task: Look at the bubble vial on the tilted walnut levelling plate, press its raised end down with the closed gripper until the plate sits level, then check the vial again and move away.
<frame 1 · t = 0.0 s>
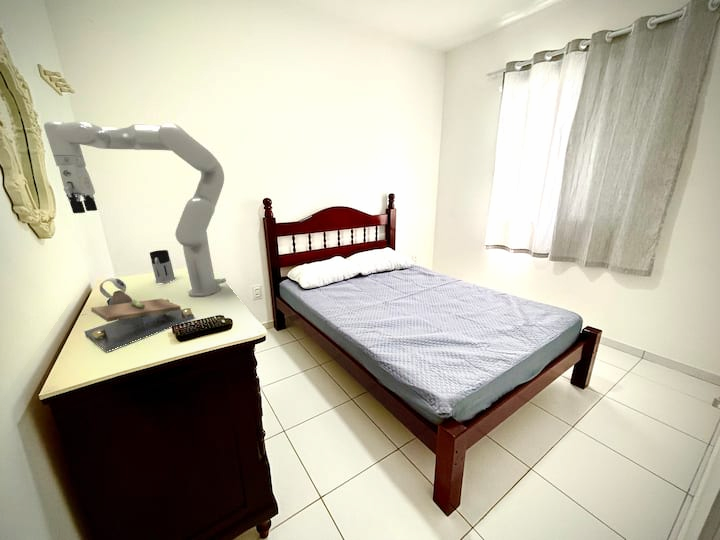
hand: (86, 211, 105), 37 cm above the table, tool pointing down, fingers open, 9 cm apart
vase: (124, 313, 109), on the table
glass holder: (165, 282, 142), on the table
levelling plate: (138, 306, 96), point 7 cm above the table, hinge at -12.0°
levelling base: (142, 326, 98), on the table
watch: (118, 305, 117), on the table
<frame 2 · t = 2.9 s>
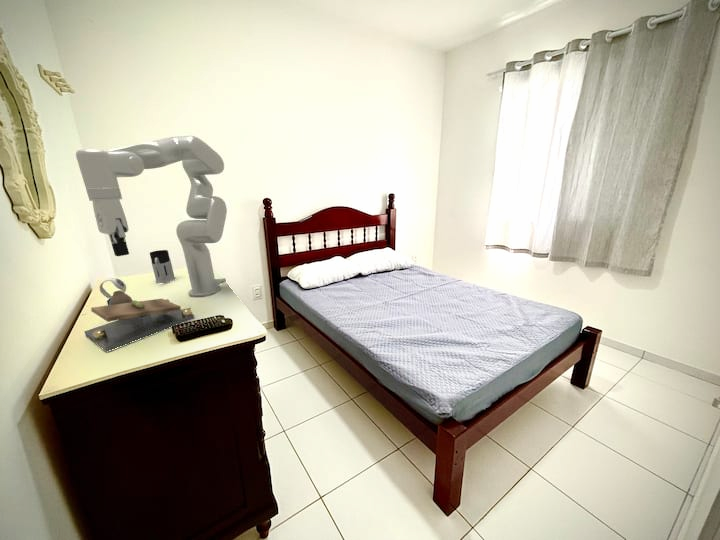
hand: (122, 255, 90), 25 cm above the table, tool pointing down, fingers closed
nothing on the table moved.
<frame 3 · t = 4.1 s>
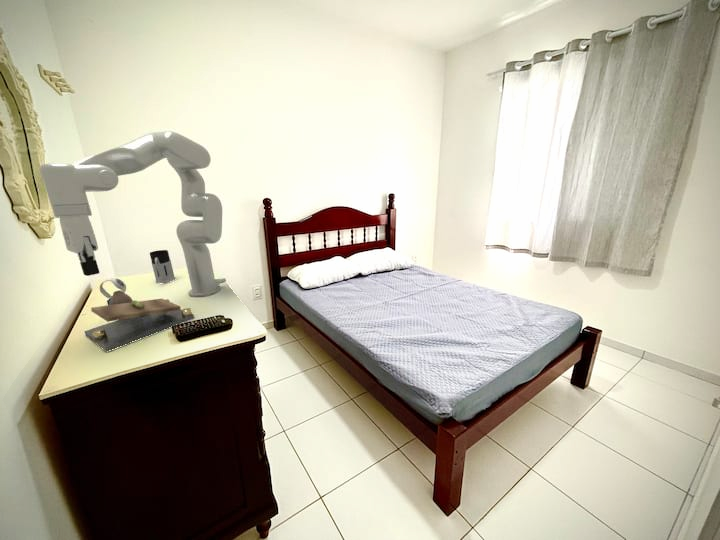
hand: (92, 274, 85), 21 cm above the table, tool pointing down, fingers closed
nothing on the table moved.
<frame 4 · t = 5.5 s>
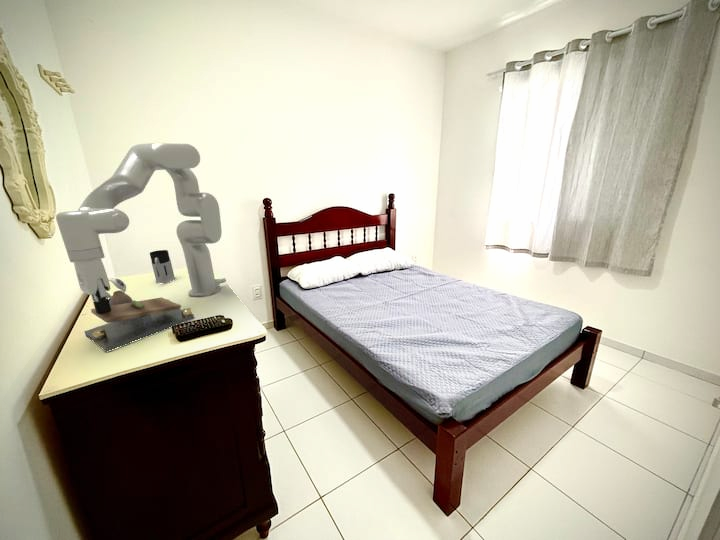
hand: (104, 312, 88), 9 cm above the table, tool pointing down, fingers closed
levelling plate: (137, 306, 96), point 7 cm above the table, hinge at -9.4°, touching gripper
everything else where it was.
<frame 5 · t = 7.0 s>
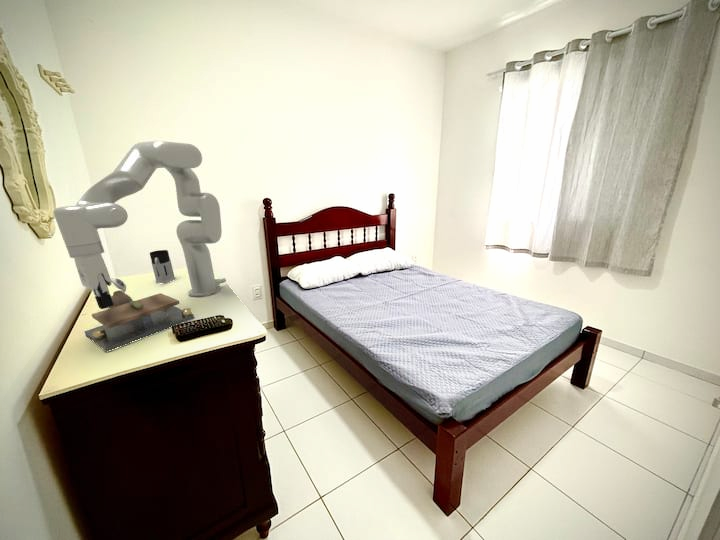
hand: (106, 306, 89), 10 cm above the table, tool pointing down, fingers closed
levelling plate: (137, 306, 95), point 7 cm above the table, hinge at 0.4°
everything else where it was.
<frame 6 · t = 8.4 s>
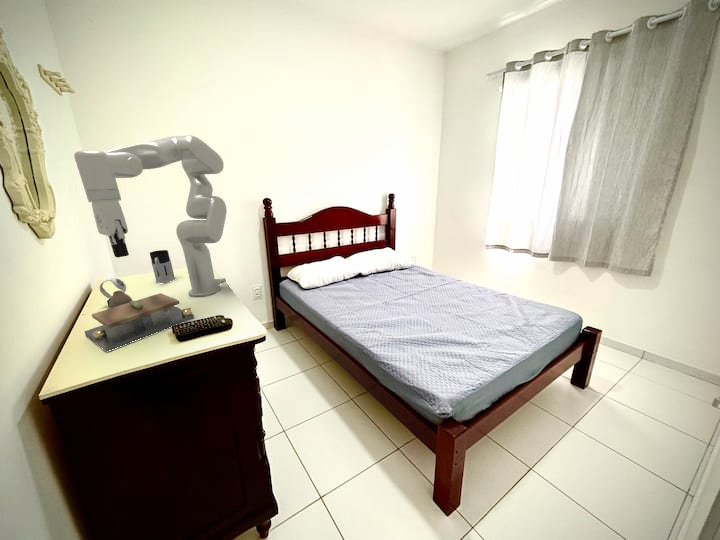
hand: (122, 256, 90), 25 cm above the table, tool pointing down, fingers closed
nothing on the table moved.
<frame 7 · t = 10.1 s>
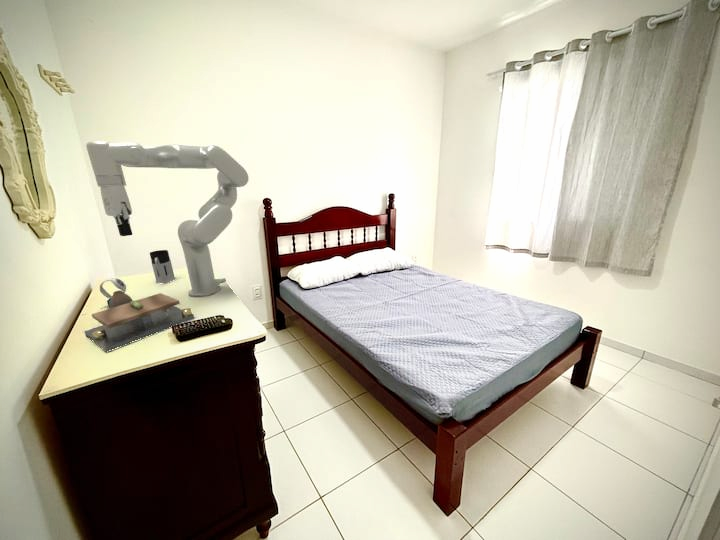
hand: (126, 235, 102), 29 cm above the table, tool pointing down, fingers closed
nothing on the table moved.
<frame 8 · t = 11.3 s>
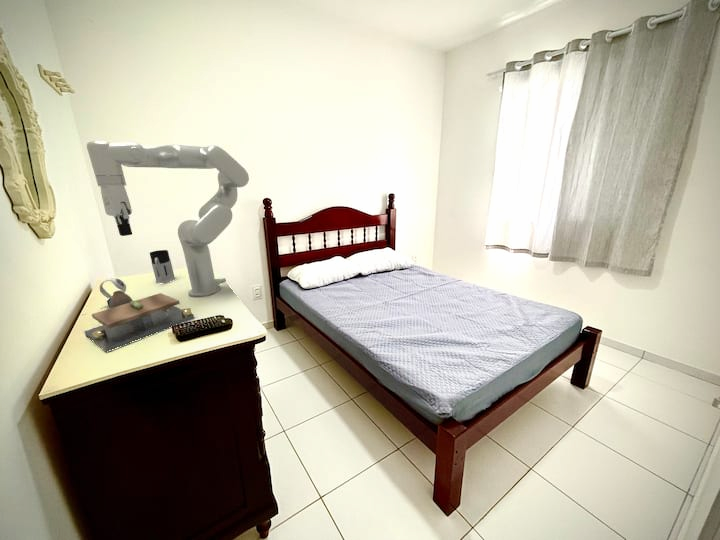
hand: (126, 235, 102), 29 cm above the table, tool pointing down, fingers closed
nothing on the table moved.
at the end: levelling plate at +0° (first picture: -12°); vase moved 0.2 cm from its start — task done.
